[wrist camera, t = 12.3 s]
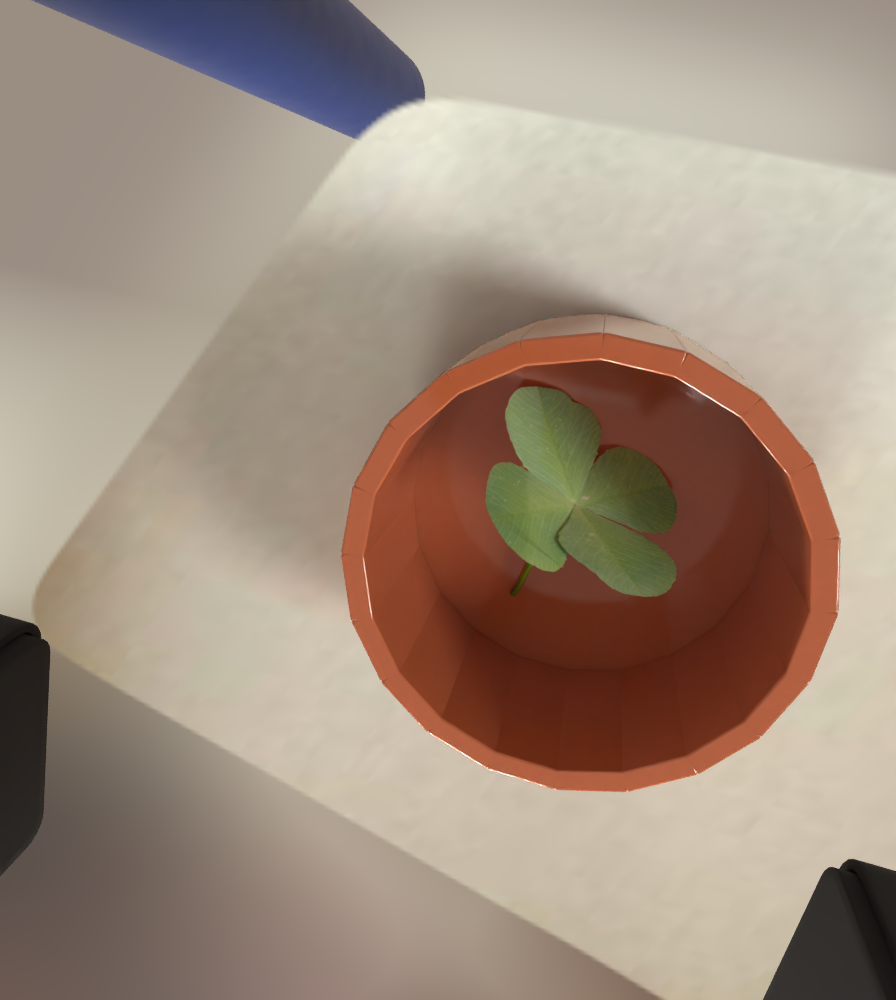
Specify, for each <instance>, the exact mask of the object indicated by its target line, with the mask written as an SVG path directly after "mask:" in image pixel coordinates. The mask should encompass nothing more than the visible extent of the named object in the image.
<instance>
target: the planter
mask: <svg viewBox="0 0 896 1000" xmlns="http://www.w3.org/2000/svg"><path fill="white" fill-rule="evenodd" d="M534 386H538V387H542V388H548V389H549V388H552V389H555V390H556V389H557V390H559V391H562V392H564V393H565V394H567V395H568V396H569V397H570V399H571V400H572V402H576V403H579V404H581V405H584V406H585V407H586V408H589V409H590V410H591V411H592V412H593V413H594V414H595V416H596V418H597V419H598V421H599V424H600V429H601V435H600V442H599V443H600V445H599V447H598V450H597V453H598V455H596V458H595V460H594V462H593V464H594V463H595V462H596V461H597V459H598V458H599V457H600V456H601V455H602V454H604V453H605V451H606V450H609V449H613V448H617V447H622V448H630V449H632V450H634V451H637V452H640V453H641V454H643V455H644V456H645V457H647V458H648V459H650V460H651V461H653V462H654V463H655V464H656V465H657V466H658V468H659V469H660V471H661V472H662V474H663V476H664V477H665V479H666V481H667V484H668V485H669V487H670V488H671V490H672V491H673V493H674V495H675V498H676V500H677V511H676V512H677V516H676V520H675V522H674V525H673V526H672V527H671V528H670V530H668V531H665V532H664V533H656V534H654V533H646V532H640V531H638V530H635V529H633V528H631V527H629V526H627V525H623V524H621V523H619V522H616V521H614V520H612V519H608V518H606V517H604V516H602V517H604V518H606V519H608V520H610V521H613V522H615V523H617V524H619V525H622V526H624V527H625V528H627V529H629V530H632V531H634V532H636V533H638V534H641V535H644V538H646V539H648V540H650V541H652V542H654V543H656V544H658V546H659V547H660V548H661V549H662V550H664V551H666V552H667V554H668V555H669V556H670V557H671V558H672V560H673V562H674V564H675V565H676V569H677V570H676V573H677V574H676V581H674V583H672V586H671V588H670V589H669V590H668V591H667V592H666V593H663V594H661V595H659V596H656V597H655V596H651V597H642V596H635V595H629V594H624V593H621V592H619V591H617V590H615V589H612V588H611V587H610V586H608V585H607V584H606V583H605V582H604V581H602V580H601V579H600V578H599V577H598V576H597V574H596V573H594V572H592V571H591V570H589V569H588V568H587V567H586V566H585V565H583V564H582V563H580V562H578V561H577V560H576V559H575V558H574V557H573V556H571V555H570V554H569V553H568V552H567V560H565V562H564V565H563V568H562V567H561V568H559V570H557V571H555V572H551V571H543V570H541V569H539V568H537V567H536V566H534V565H533V566H532V568H531V570H530V572H529V574H528V576H527V578H526V580H525V582H524V584H523V586H522V587H521V589H520V590H519V592H518V593H517V594H516V595H515V596H511V595H510V592H511V591H512V590H513V588H514V587H515V586H516V584H517V582H518V581H519V579H520V577H521V575H522V573H523V571H524V569H525V567H526V565H527V563H528V562H526V561H525V560H524V559H522V558H521V557H520V556H519V555H518V554H517V553H516V552H515V551H514V550H513V549H512V548H511V547H509V545H508V544H507V543H506V542H505V540H504V539H503V538H502V536H501V535H500V533H499V532H498V530H497V529H496V527H495V524H494V523H493V522H492V520H491V516H490V515H489V512H488V509H487V507H486V501H485V500H486V489H487V488H486V487H487V481H488V479H489V475H490V471H491V469H492V468H493V466H495V465H496V464H498V463H500V462H506V463H509V462H511V463H513V464H515V465H517V466H521V467H523V463H522V461H521V460H520V459H519V457H518V456H517V454H516V451H515V449H514V446H513V443H512V441H511V440H510V436H509V433H508V430H507V427H506V426H507V423H506V420H505V417H506V416H505V415H506V414H505V411H506V408H507V406H508V403H509V399H510V397H511V396H512V395H513V393H514V392H515V391H516V390H517V389H519V388H521V387H534ZM523 468H524V469H525V470H527V471H528V469H527V468H525V467H523ZM591 469H592V468H591ZM590 471H591V470H590ZM529 472H530V471H529ZM530 473H531V472H530ZM550 488H551V487H550ZM598 515H599V514H598ZM600 516H601V515H600ZM341 557H342V564H343V570H344V577H345V583H346V590H347V597H348V603H349V610H350V617H351V620H352V623H353V625H354V627H355V629H356V631H357V633H358V635H359V637H360V639H361V641H362V643H363V646H364V648H365V650H366V652H367V654H368V656H369V658H370V660H371V662H372V664H373V666H374V668H375V670H376V672H377V674H378V676H379V678H380V680H382V683H383V685H384V686H385V687H386V688H387V689H388V690H389V691H390V692H391V693H392V694H393V695H394V697H395V698H396V699H397V700H398V701H399V702H400V703H401V704H402V705H403V706H404V707H405V708H406V710H407V711H408V712H409V713H410V714H411V715H412V716H413V717H414V718H415V719H416V720H417V722H418V723H419V724H420V725H421V726H422V727H423V728H424V729H425V730H426V731H429V733H430V734H431V735H433V736H435V737H436V738H438V739H439V740H441V741H443V742H444V743H446V744H447V745H449V746H451V747H452V748H454V749H456V750H457V751H459V752H460V753H462V754H464V755H465V756H467V757H468V758H470V759H472V760H473V761H475V762H476V763H478V764H480V765H481V766H483V767H485V768H487V767H488V769H489V770H492V771H495V772H498V773H502V774H505V775H508V776H512V777H515V778H518V779H522V780H525V781H528V782H532V783H535V784H538V785H542V786H545V787H548V788H552V789H554V788H555V789H556V790H576V791H610V792H626V791H633V790H637V789H641V788H645V787H649V786H653V785H657V784H661V783H665V782H669V781H673V780H678V779H682V778H686V777H690V776H694V775H696V774H697V773H698V774H699V773H701V772H703V771H705V770H706V769H708V768H710V767H712V766H713V765H715V764H717V763H718V762H720V761H722V760H724V759H725V758H727V757H729V756H730V755H732V754H734V753H735V752H737V751H739V750H741V749H742V748H744V747H746V746H747V745H749V744H751V743H753V742H754V741H756V740H758V739H759V738H760V736H762V735H763V734H764V733H765V732H766V731H767V730H768V729H769V728H770V726H771V725H772V724H773V723H774V722H775V721H776V720H777V719H778V717H779V716H780V715H781V714H782V713H783V712H784V711H785V710H786V708H787V707H788V706H789V705H790V704H791V703H792V702H793V701H794V699H795V698H796V697H797V696H798V695H799V694H800V693H801V692H802V690H803V689H804V688H805V687H806V686H807V685H808V682H810V681H811V679H812V677H813V674H814V672H815V669H816V667H817V664H818V662H819V660H820V657H821V655H822V652H823V650H824V647H825V645H826V642H827V640H828V638H829V635H830V633H831V630H832V628H833V625H834V623H835V620H836V618H837V615H838V614H837V613H838V607H839V573H840V537H839V531H838V528H837V525H836V522H835V519H834V516H833V513H832V510H831V508H830V505H829V502H828V499H827V496H826V493H825V490H824V487H823V484H822V482H821V479H820V476H819V473H818V470H817V467H816V464H815V463H814V462H813V459H812V457H811V456H810V455H809V454H808V452H807V451H806V450H805V449H804V448H803V446H802V445H801V444H800V443H799V441H798V440H797V439H796V438H795V437H794V435H793V434H792V433H791V432H790V430H789V429H788V428H787V427H786V426H785V424H784V423H783V422H782V421H781V419H780V418H779V417H778V416H777V415H776V413H775V412H774V411H773V410H772V408H771V407H770V406H769V405H768V404H767V402H766V401H765V400H764V399H763V398H762V397H761V396H760V395H759V394H758V393H757V392H756V391H755V390H754V389H753V388H752V387H751V386H750V385H749V384H748V383H747V382H746V381H745V380H744V379H743V378H742V377H741V376H740V375H739V374H738V373H737V372H736V371H735V370H734V369H733V368H732V367H731V366H730V365H729V364H728V363H727V362H725V361H723V360H722V359H720V358H718V357H717V356H715V355H713V354H712V353H711V352H709V351H708V350H706V349H705V348H703V347H701V346H700V345H698V344H697V343H695V342H693V341H692V340H690V339H689V338H687V337H684V336H682V335H681V334H679V333H677V332H676V331H674V330H670V329H669V328H665V327H662V326H658V325H655V324H652V323H648V322H645V321H642V320H638V319H633V318H626V317H620V316H614V315H609V314H608V315H604V314H598V315H590V314H583V315H573V316H564V317H556V318H552V319H545V320H541V321H536V322H534V323H531V324H529V325H526V326H524V327H521V328H519V329H516V330H514V331H511V332H508V333H506V334H504V335H503V336H501V337H499V338H497V339H494V340H492V341H490V342H488V343H485V344H483V345H481V346H480V347H478V348H477V349H475V350H474V351H472V352H471V353H470V354H468V355H467V356H466V357H464V358H463V359H461V360H460V361H459V362H457V363H456V364H454V365H453V366H452V367H450V368H449V369H448V370H446V371H445V372H443V373H442V374H441V375H440V376H439V377H438V378H437V379H435V380H434V381H433V382H432V383H431V384H430V385H429V386H428V387H427V388H425V389H424V390H423V391H422V392H421V393H420V394H419V395H418V396H417V397H415V398H414V399H413V400H412V401H411V402H410V403H409V404H408V405H407V406H405V407H404V408H403V409H402V410H401V411H400V412H399V413H398V414H396V415H395V416H394V417H393V418H392V419H391V420H390V421H389V423H388V424H387V425H386V427H385V429H384V430H383V432H382V434H381V436H380V438H379V439H378V441H377V443H376V445H375V447H374V448H373V450H372V452H371V454H370V456H369V457H368V459H367V461H366V463H365V465H364V466H363V468H362V470H361V472H360V474H359V475H358V477H357V479H356V481H355V483H354V486H353V488H352V494H351V499H350V505H349V511H348V516H347V522H346V528H345V534H344V539H343V545H342V555H341Z"/></svg>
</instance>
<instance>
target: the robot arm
mask: <svg viewBox="0 0 896 1000" xmlns="http://www.w3.org/2000/svg"><path fill="white" fill-rule="evenodd" d="M49 669H50V646H49V644H48V642H47V641H45V640H44V639H41V632H40V630H39V628H38V627H37V626H36V625H34V624H33V623H29V622H26V621H22V620H19V619H15V618H12V617H8V616H5V615H1V614H0V876H1V875H2V874H3V873H4V871H5V870H6V869H7V868H8V867H9V866H10V865H11V864H12V863H13V862H14V861H15V860H16V859H17V858H18V856H19V855H20V854H21V853H22V852H23V851H24V850H25V849H26V848H27V847H28V845H29V844H30V843H31V842H32V840H33V839H34V837H35V835H36V834H37V832H38V829H39V827H40V825H41V821H42V818H43V809H44V787H45V763H46V738H47V716H48V692H49ZM763 1000H896V871H893V870H890V869H887V868H883V867H880V866H876V865H873V864H869V863H866V862H862V861H859V860H855V859H848V860H847V861H846V862H844V863H843V864H842V866H841V867H840V869H837V868H834V867H829V868H827V869H826V870H825V871H824V873H823V874H822V876H821V878H820V880H819V882H818V884H817V886H816V888H815V891H814V893H813V895H812V897H811V899H810V901H809V903H808V905H807V908H806V910H805V912H804V914H803V916H802V918H801V920H800V922H799V924H798V927H797V929H796V931H795V933H794V935H793V937H792V939H791V941H790V944H789V946H788V948H787V950H786V952H785V954H784V956H783V958H782V961H781V963H780V965H779V967H778V969H777V971H776V973H775V975H774V977H773V980H772V982H771V984H770V986H769V988H768V990H767V992H766V994H765V997H764V999H763Z"/></svg>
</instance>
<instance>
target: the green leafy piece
mask: <svg viewBox="0 0 896 1000" xmlns="http://www.w3.org/2000/svg"><path fill="white" fill-rule="evenodd" d="M505 414H506V415H505V416H506V417H505V420H506V423H507V426H506V427H507V430H508V433H509V436H510V440H511V441H512V443H513V446H514V449H515V451H516V454H517V456H518V457H519V459H520V460H521V461H522V463H523V467H525V468H527V469H528V471H527V470H525V469H524V468H523V467H521V466H517V465H515V464H513V463H511V462H509V463H506V462H500V463H498V464H496V465H495V466H493V468H492V469H491V471H490V475H489V479H488V481H487V487H486V488H487V489H486V500H485V501H486V507H487V509H488V512H489V515H490V516H491V520H492V522H493V523H494V524H495V527H496V529H497V530H498V532H499V533H500V535H501V536H502V538H503V539H504V540H505V542H506V543H507V544H508V545H509V547H511V548H512V549H513V550H514V551H515V552H516V553H517V554H518V555H519V556H520V557H521V558H522V559H524V560H525V561H526V562H528V563H527V565H526V567H525V569H524V571H523V573H522V575H521V577H520V579H519V581H518V582H517V584H516V586H515V587H514V588H513V590H512V591H511V592H510V595H511V596H515V595H516V594H517V593H518V592H519V590H520V589H521V587H522V586H523V584H524V582H525V580H526V578H527V576H528V574H529V572H530V570H531V568H532V566H533V565H534V566H536V567H537V568H539V569H541V570H543V571H551V572H555V571H557V570H559V568H561V567H562V568H563V565H564V562H565V560H567V552H568V553H569V554H570V555H571V556H573V557H574V558H575V559H576V560H577V561H578V562H580V563H582V564H583V565H585V566H586V567H587V568H588V569H589V570H591V571H592V572H594V573H596V574H597V576H598V577H599V578H600V579H601V580H602V581H604V582H605V583H606V584H607V585H608V586H610V587H611V588H612V589H615V590H617V591H619V592H621V593H624V594H629V595H635V596H642V597H651V596H655V597H656V596H659V595H661V594H663V593H666V592H667V591H668V590H669V589H670V588H671V586H672V583H674V581H676V574H677V573H676V570H677V569H676V565H675V564H674V562H673V560H672V558H671V557H670V556H669V555H668V554H667V552H666V551H664V550H662V549H661V548H660V547H659V546H658V544H656V543H654V542H652V541H650V540H648V539H646V538H644V535H641V534H638V533H636V532H634V531H632V530H629V529H627V528H625V527H624V526H622V525H619V524H617V523H615V522H613V521H610V520H608V519H612V520H614V521H616V522H619V523H621V524H623V525H627V526H629V527H631V528H633V529H635V530H638V531H640V532H646V533H654V534H656V533H664V532H665V531H668V530H670V528H671V527H672V526H673V525H674V522H675V520H676V516H677V512H676V511H677V500H676V498H675V495H674V493H673V491H672V490H671V488H670V487H669V485H668V484H667V481H666V479H665V477H664V476H663V474H662V472H661V471H660V469H659V468H658V466H657V465H656V464H655V463H654V462H653V461H651V460H650V459H648V458H647V457H645V456H644V455H643V454H641V453H640V452H637V451H634V450H632V449H630V448H622V447H617V448H613V449H609V450H606V451H605V453H604V454H602V455H601V456H600V457H599V458H598V459H597V461H596V462H595V463H594V464H593V462H594V460H595V458H596V455H598V453H597V450H598V447H599V445H600V443H599V442H600V435H601V429H600V424H599V421H598V419H597V418H596V416H595V414H594V413H593V412H592V411H591V410H590V409H589V408H586V407H585V406H584V405H581V404H579V403H576V402H572V400H571V399H570V397H569V396H568V395H567V394H565V393H564V392H562V391H559V390H557V389H556V390H555V389H552V388H549V389H548V388H542V387H538V386H534V387H521V388H519V389H517V390H516V391H515V392H514V393H513V395H512V396H511V397H510V399H509V403H508V406H507V408H506V411H505ZM591 468H592V469H591ZM590 470H591V471H590ZM529 471H530V472H531V473H530V472H529ZM550 487H551V488H550ZM598 514H599V515H598ZM600 515H601V516H600ZM602 516H604V517H606V518H608V519H606V518H604V517H602Z"/></svg>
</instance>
